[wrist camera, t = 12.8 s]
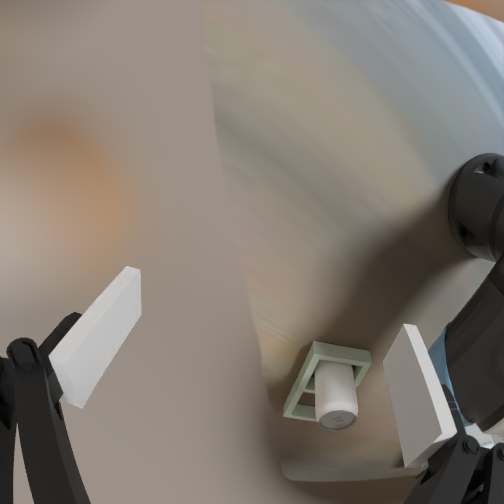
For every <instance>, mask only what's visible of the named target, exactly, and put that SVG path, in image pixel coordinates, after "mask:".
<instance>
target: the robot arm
mask: <svg viewBox="0 0 504 504" xmlns="http://www.w3.org/2000/svg"><path fill="white" fill-rule="evenodd" d="M448 212H449V222H450V226H451V229H452V232H453V234H454V236H455V238H456V239H457V241H458V242H459V243H460V244H461V245H462V246H463V247H464V248H465V249H466V250H467V251H468V252H470V253H471V254H473V255H474V256H477V257H479V258H483V259H486V260H490V261H493V262H496V264H495V266H494V267H493V268H492V270H491V271H490V273H489V274H488V275H487V277H486V278H485V280H484V281H483V282H482V284H481V285H480V287H479V288H478V289H477V291H476V292H475V293H474V294H473V296H472V297H471V298H470V300H469V301H468V302H467V303H466V305H465V306H464V307H463V308H462V310H461V311H460V312H459V313H458V314H457V316H456V317H455V318H454V319H453V320H452V322H450V323H448V324H447V325H446V326H445V328H444V330H443V332H442V334H441V335H440V336H439V337H438V339H437V340H436V341H435V342H434V343H433V345H432V346H431V347H430V349H429V351H428V352H427V350H426V347H425V345H424V343H423V340H422V338H421V336H420V334H419V331H418V329H417V327H416V325H409V324H403V326H402V327H401V329H400V331H399V333H398V335H397V337H396V339H395V341H394V342H393V344H392V346H391V348H390V350H389V351H388V353H387V355H386V357H385V358H384V360H383V362H382V364H383V368H384V372H385V376H386V380H387V384H388V388H389V392H390V397H391V401H392V405H393V410H394V414H395V419H396V424H397V428H398V433H399V439H400V444H401V449H402V455H403V460H404V466H405V468H412V467H420V466H421V465H422V464H423V463H424V462H426V461H428V467H427V468H426V469H424V470H423V471H422V472H421V473H419V474H418V475H417V476H416V477H415V478H416V479H417V478H419V477H420V476H421V477H420V478H419V480H418V482H417V484H416V485H415V487H414V488H413V490H412V491H411V493H410V495H409V496H408V498H407V499H406V501H405V502H404V504H504V443H498V444H496V445H495V446H494V447H493V448H492V449H489V448H485V447H480V444H479V442H478V441H477V439H475V438H474V437H473V436H470V435H467V433H466V430H465V427H467V426H471V425H473V424H474V423H476V424H477V426H478V427H479V429H480V430H481V432H482V433H483V434H497V435H500V436H501V437H502V438H503V440H504V156H502V155H499V154H495V153H485V154H481V155H479V156H477V157H475V158H473V159H472V160H470V161H469V162H468V163H467V164H466V165H465V166H464V167H463V168H462V170H461V171H460V173H459V174H458V176H457V178H456V180H455V182H454V184H453V187H452V190H451V194H450V198H449V208H448ZM141 314H142V312H141V276H140V269H136V268H132V267H128V266H126V267H125V268H124V270H123V271H122V272H121V273H120V274H119V275H118V276H117V277H116V278H115V279H114V280H113V282H112V283H111V284H110V285H109V286H108V287H107V288H106V289H105V290H104V291H103V292H102V294H101V295H100V296H99V297H98V298H97V299H96V300H95V301H94V302H93V304H92V305H91V306H90V307H89V308H88V309H87V311H86V312H85V313H84V314H83V315H82V314H79V313H76V312H74V313H72V314H70V315H68V316H66V317H65V318H64V319H63V320H62V321H61V322H60V323H59V325H58V326H57V327H56V328H55V329H54V330H53V332H52V333H51V334H50V335H49V336H48V337H47V338H46V339H45V341H44V342H43V343H42V344H41V345H40V346H39V348H37V345H36V343H35V342H34V341H33V340H32V339H29V338H19V339H16V340H14V341H13V342H11V343H10V344H9V346H8V347H7V351H6V353H7V355H8V358H9V359H8V358H3V357H0V504H13V466H14V449H15V437H16V427H17V423H18V430H19V437H20V443H21V448H22V454H23V459H24V464H25V469H26V473H27V477H28V481H29V486H30V490H31V493H32V497H33V500H34V504H91V503H90V501H89V498H88V495H87V493H86V490H85V487H84V485H83V482H82V479H81V476H80V473H79V470H78V467H77V465H76V461H75V458H74V455H73V451H72V448H71V444H70V441H69V437H68V434H67V430H66V426H65V422H64V417H63V414H62V409H61V404H60V402H59V399H60V398H61V396H62V395H64V397H65V399H66V402H68V403H70V404H72V405H74V406H76V407H79V408H81V409H82V408H83V406H84V405H85V403H86V402H87V400H88V398H89V397H90V395H91V393H92V391H93V390H94V388H95V386H96V385H97V383H98V382H99V380H100V378H101V377H102V375H103V374H104V371H105V370H106V369H107V367H108V365H109V364H110V362H111V361H112V359H113V357H114V356H115V354H116V353H117V351H118V350H119V348H120V346H121V345H122V343H123V342H124V340H125V339H126V337H127V335H128V334H129V333H130V331H131V330H132V328H133V326H134V325H135V323H136V322H137V320H138V319H139V317H140V316H141ZM482 486H483V489H482Z"/></svg>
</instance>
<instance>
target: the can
mask: <svg viewBox="0 0 504 504" xmlns="http://www.w3.org/2000/svg"><path fill="white" fill-rule="evenodd" d="M315 412H316V418H317V420H318V421H319V422H318V424H319V426H320V427H321V428H322V429H324V430H327V431H341V430H344V429H347V428H349V427H351V426H352V425H353V424H354V423H355V422H356V416H357V413H358V404H357V396H356V389H355V382H354V375H353V369H352V365H350V364H344V363H338V362H332V361H326V360H321V359H320V360H319V361H318V363H317V365H316V367H315Z"/></svg>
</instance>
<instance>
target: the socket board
mask: <svg viewBox="0 0 504 504" xmlns="http://www.w3.org/2000/svg"><path fill="white" fill-rule="evenodd" d="M319 359H321V360H326V361H332V362H338V363H344V364H350V365H354V367H353V375H354V382H355V389H356V388H357V387H358V386H359V384H360V383H361V381H362V379H363V378H364V376H365V375H366V373H367V371H368V369H369V368H370V366H371V365H372V360H371V355H370V351H367V350H361V349H355V348H350V347H344V346H338V345H333V344H328V343H322V342H317V341H313V343H312V346H311V348H310V350H309V352H308V355H307V357H306V359H305V361H304V364H303V366H302V368H301V370H300V372H299V374H298V377H297V379H296V381H295V383H294V385H293V387H292V389H291V391H290V394H289V396H288V398H287V400H286V402H285V404H284V411H283V417H288V418H294V419H301V420H308V421H315V422H319V421H318V420H317V418H316V412H315V407H313V406H306V405H300V404H297V402H298V400H299V399H300V397H301V395H302V393H303V392H308V393H314V394H315V378H311V375H312V373H313V371H314V369H315V367H316V365H317V363H318V361H319Z"/></svg>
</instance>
